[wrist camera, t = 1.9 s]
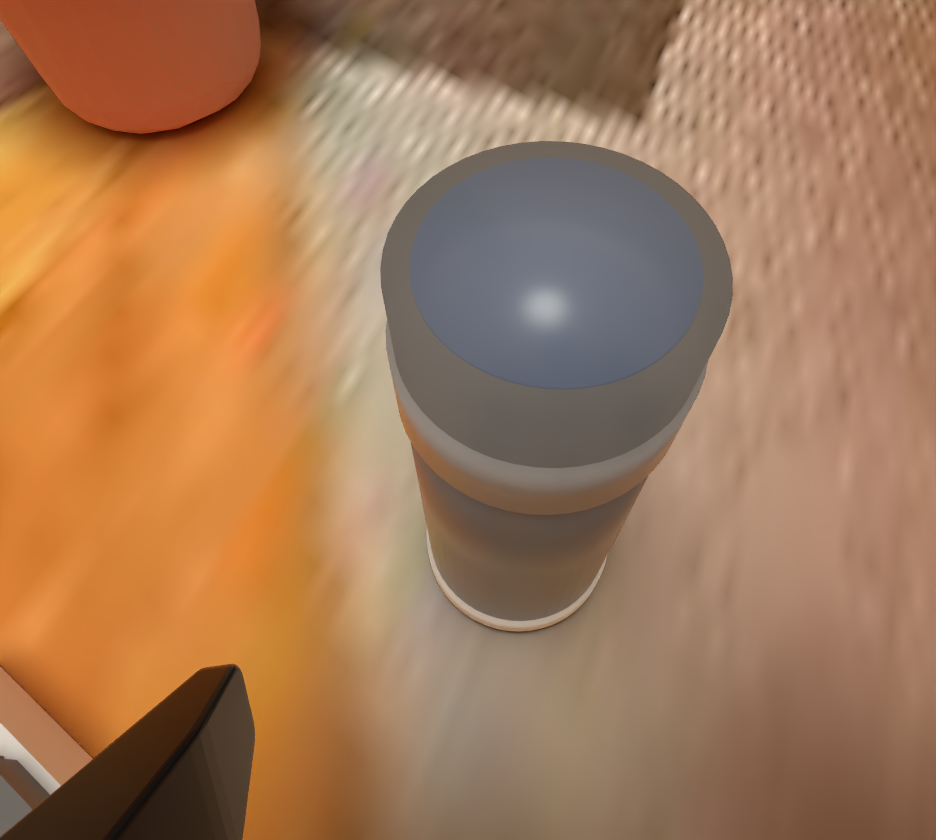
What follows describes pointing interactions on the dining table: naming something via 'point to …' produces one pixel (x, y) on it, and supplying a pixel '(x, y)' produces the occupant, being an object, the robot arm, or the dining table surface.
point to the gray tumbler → (544, 361)
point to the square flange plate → (31, 753)
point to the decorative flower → (139, 56)
